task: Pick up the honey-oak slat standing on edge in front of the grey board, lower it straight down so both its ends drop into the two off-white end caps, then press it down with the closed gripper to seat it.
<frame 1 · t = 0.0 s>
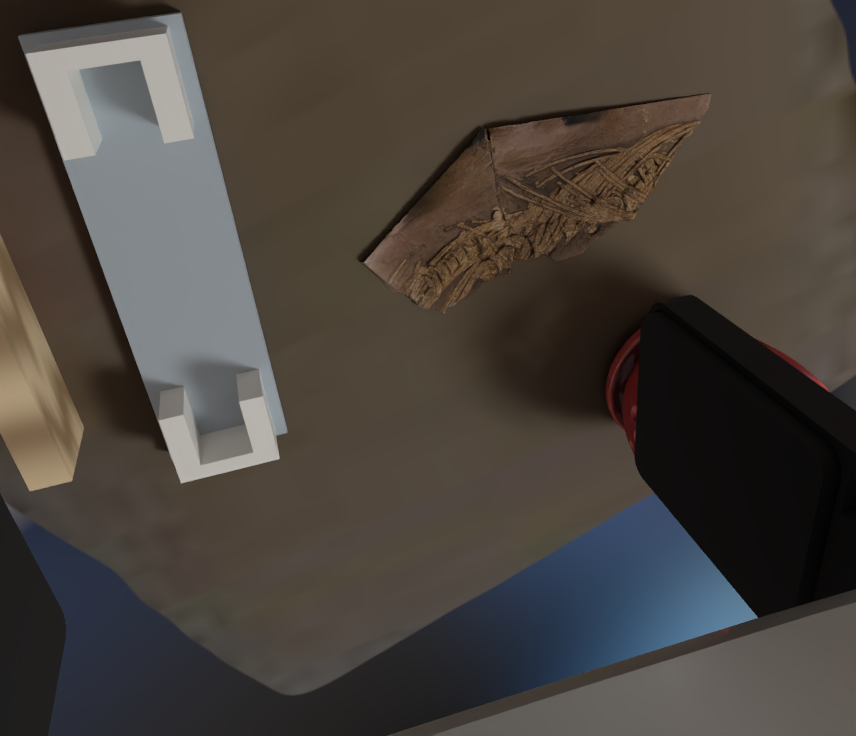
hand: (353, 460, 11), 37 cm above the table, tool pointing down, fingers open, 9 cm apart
plant pot: (661, 369, 61), on the table
slat: (4, 294, 44), on the table
endcap board: (176, 262, 46), on the table
wooden fragment: (538, 187, 50), on the table
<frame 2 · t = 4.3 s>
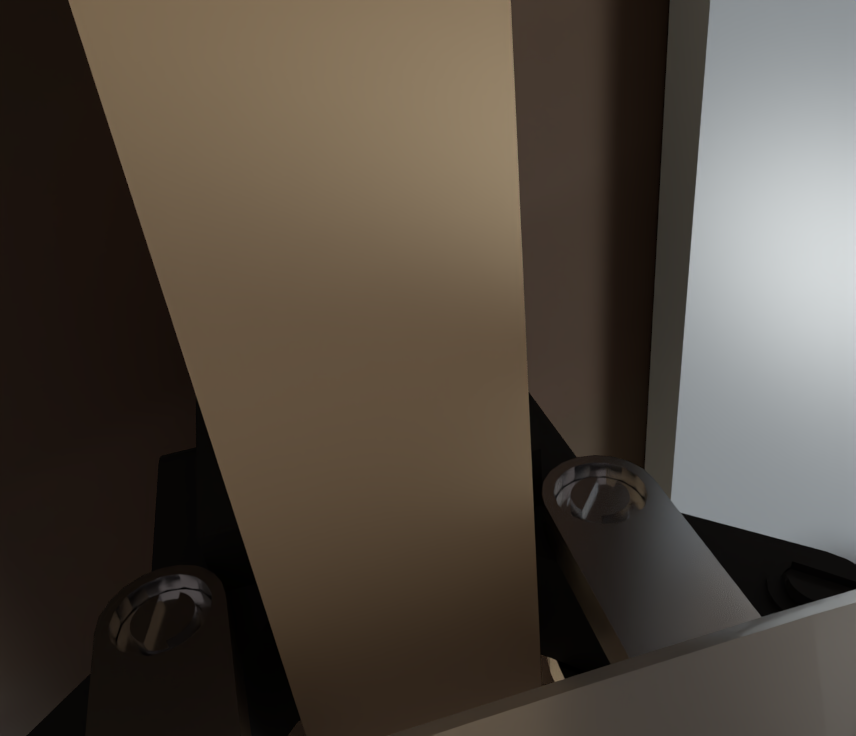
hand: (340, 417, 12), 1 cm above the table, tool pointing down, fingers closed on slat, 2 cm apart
slat: (333, 395, 12), on the table, touching gripper
endcap board: (842, 277, 14), on the table
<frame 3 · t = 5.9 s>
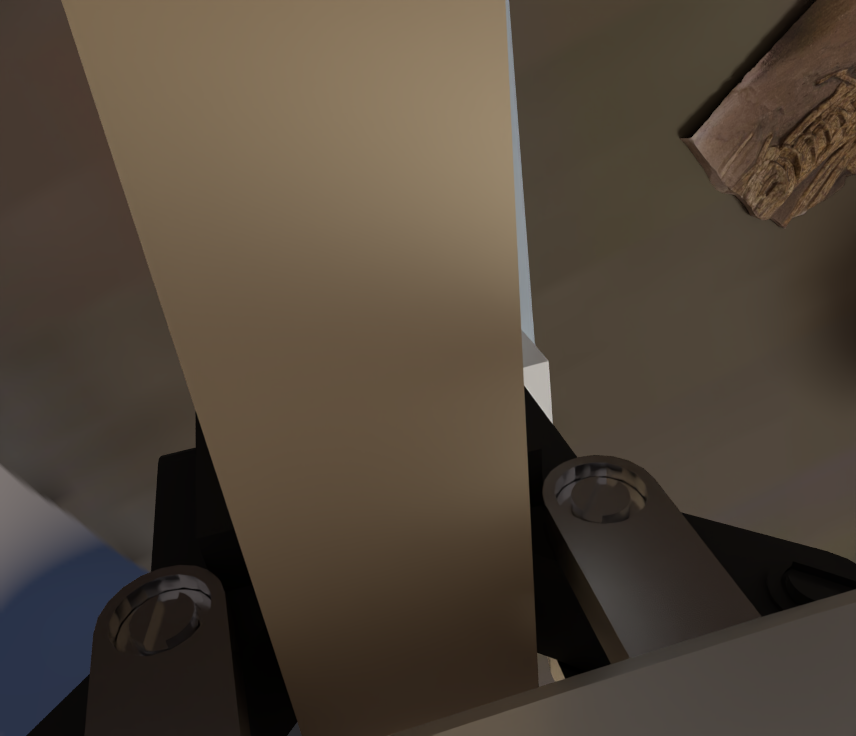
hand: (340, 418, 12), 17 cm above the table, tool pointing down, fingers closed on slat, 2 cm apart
slat: (331, 397, 12), point 16 cm above the table, touching gripper
endcap board: (403, 136, 27), on the table
when the fingers open (2 cm above the table, at t = 8.3 s): slat stays where it is, resting on endcap board.
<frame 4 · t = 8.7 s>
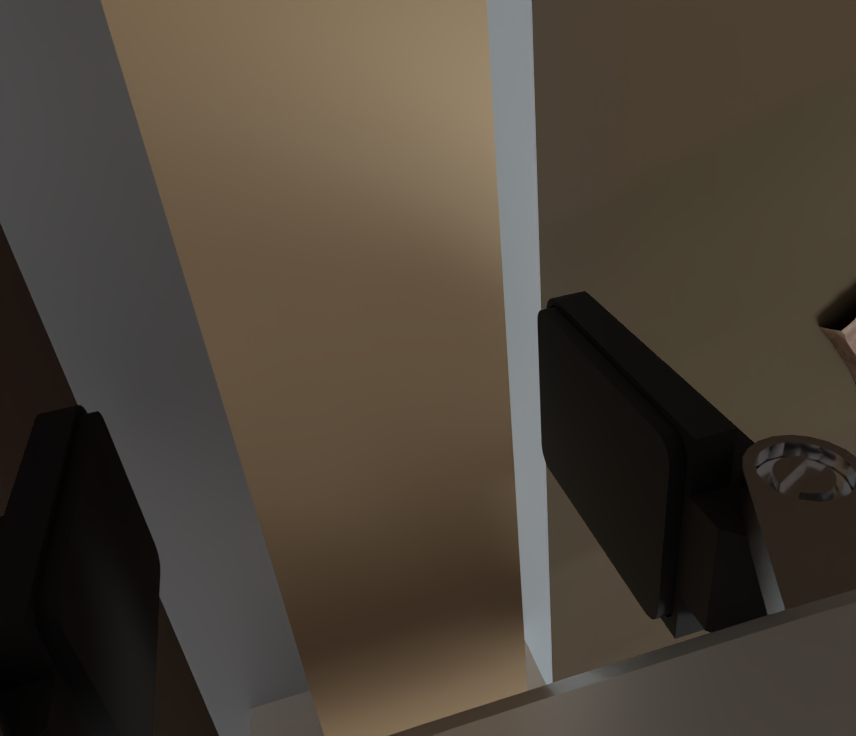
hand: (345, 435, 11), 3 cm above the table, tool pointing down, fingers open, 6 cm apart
slat: (331, 373, 13), point 1 cm above the table, touching endcap board
endcap board: (318, 346, 14), on the table
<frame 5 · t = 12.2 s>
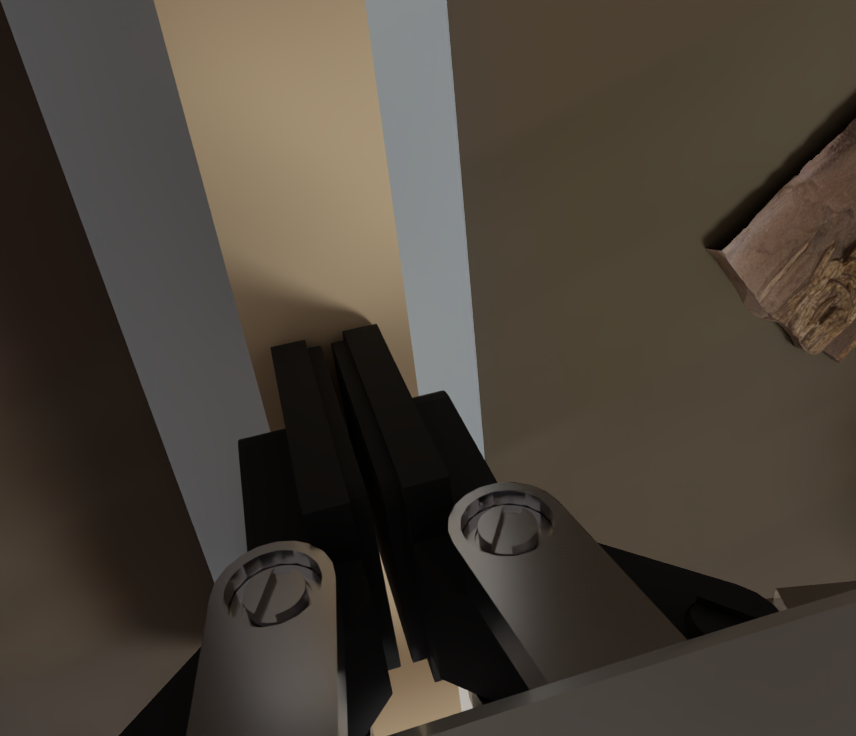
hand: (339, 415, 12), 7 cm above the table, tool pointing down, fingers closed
slat: (299, 265, 17), point 1 cm above the table, touching endcap board, gripper
endcap board: (290, 249, 18), on the table
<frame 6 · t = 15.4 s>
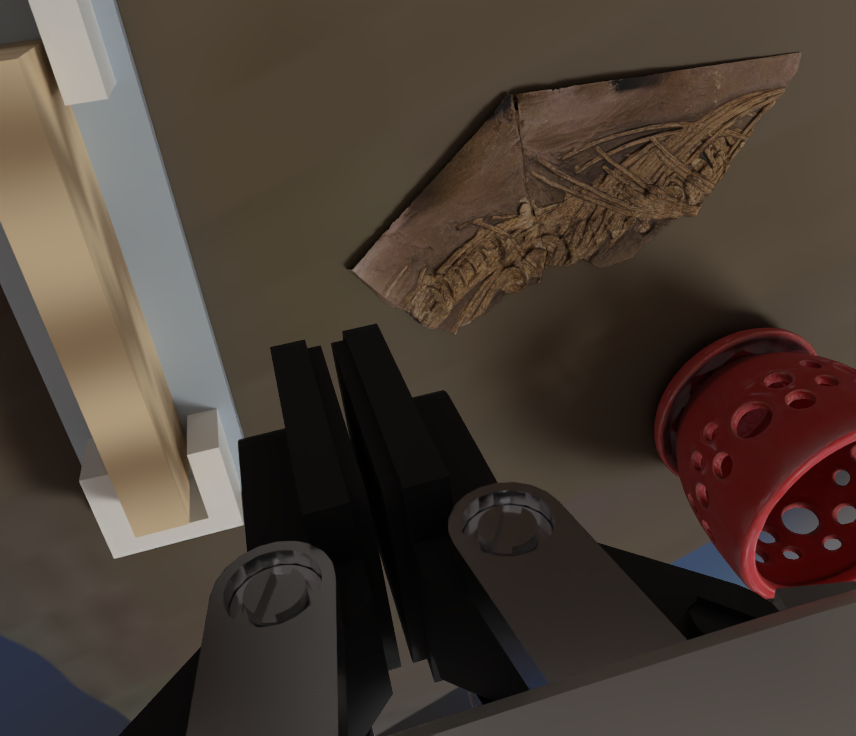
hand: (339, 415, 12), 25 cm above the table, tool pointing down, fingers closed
plant pot: (719, 400, 49), on the table
slat: (102, 280, 34), point 1 cm above the table, touching endcap board
endcap board: (102, 271, 35), on the table
wooden fragment: (577, 173, 39), on the table
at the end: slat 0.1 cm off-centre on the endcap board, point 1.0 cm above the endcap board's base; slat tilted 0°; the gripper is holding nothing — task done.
